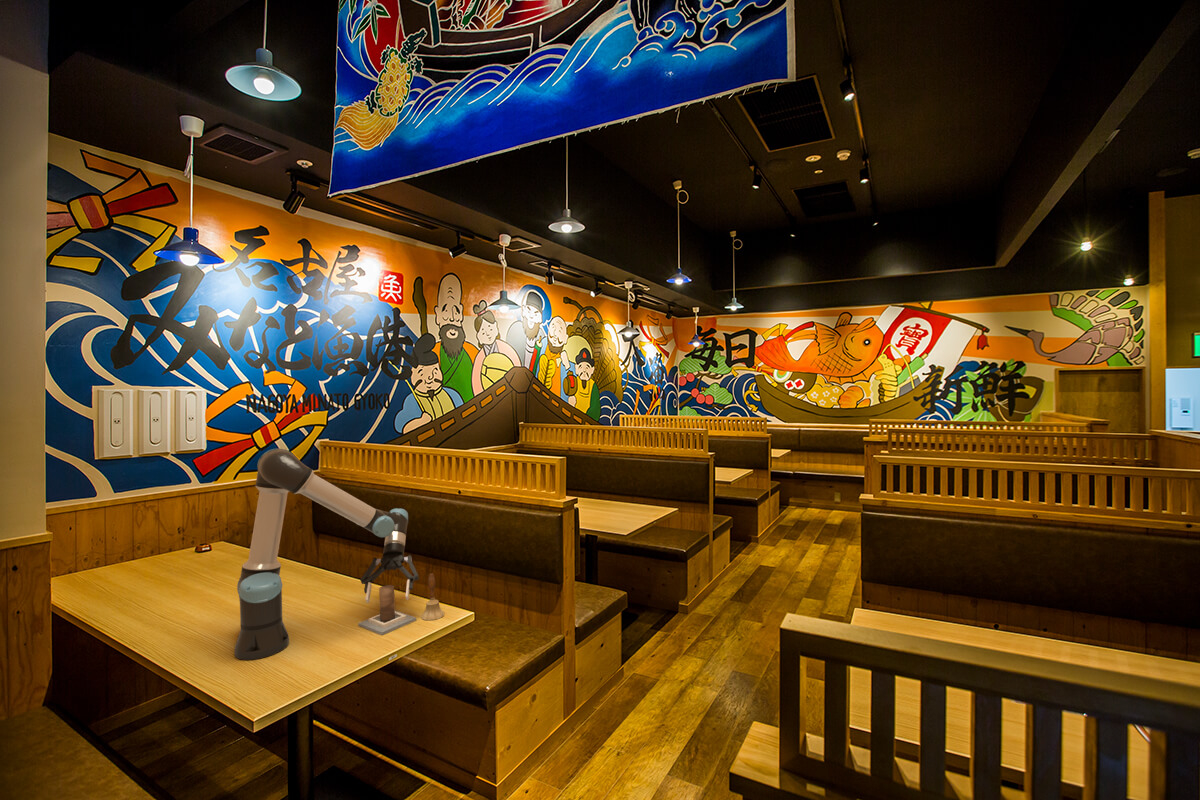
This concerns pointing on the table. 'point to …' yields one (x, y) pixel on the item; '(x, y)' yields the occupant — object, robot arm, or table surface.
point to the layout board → (383, 628)
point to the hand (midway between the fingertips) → (387, 599)
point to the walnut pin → (387, 603)
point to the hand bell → (432, 603)
